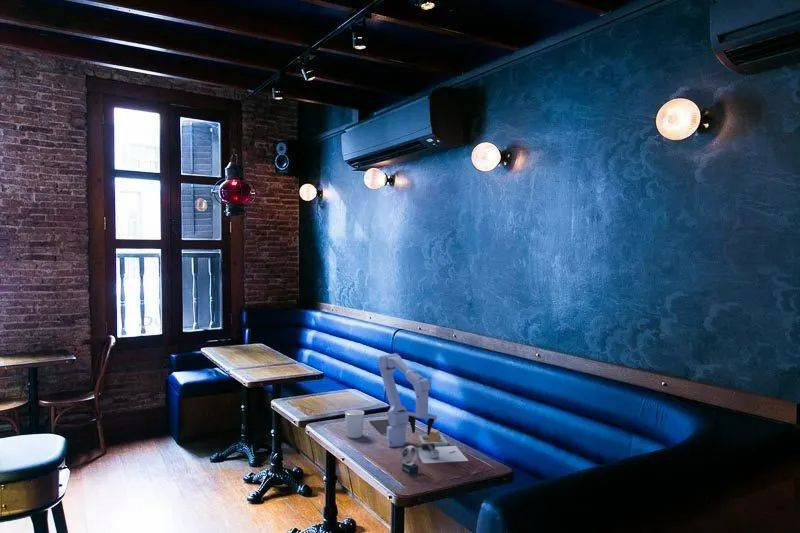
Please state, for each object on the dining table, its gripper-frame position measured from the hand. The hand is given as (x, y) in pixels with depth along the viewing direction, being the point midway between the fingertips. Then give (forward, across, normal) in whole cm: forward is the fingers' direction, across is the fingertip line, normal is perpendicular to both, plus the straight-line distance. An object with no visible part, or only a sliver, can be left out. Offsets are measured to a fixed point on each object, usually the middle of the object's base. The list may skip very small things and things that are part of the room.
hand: (421, 433), depth 255 cm
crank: (+8, +6, -2) cm, 10 cm away
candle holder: (+10, -38, +11) cm, 41 cm away
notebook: (+10, -27, +29) cm, 41 cm away
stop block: (+9, +2, +15) cm, 17 cm away
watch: (+10, +2, -22) cm, 25 cm away
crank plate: (+9, +10, 0) cm, 13 cm away
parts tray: (+9, +2, +15) cm, 18 cm away
